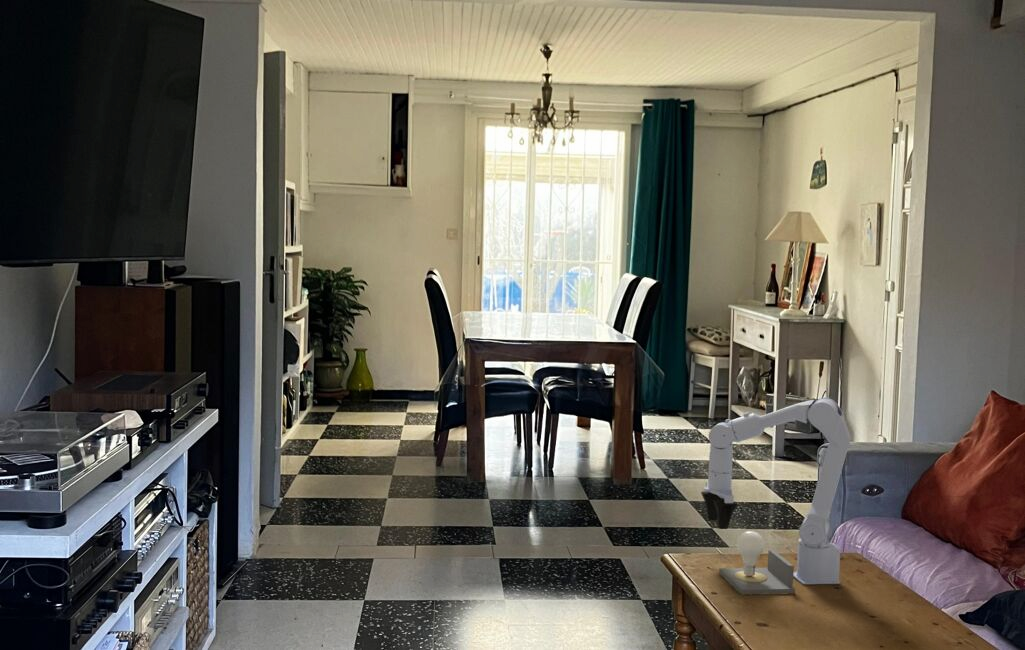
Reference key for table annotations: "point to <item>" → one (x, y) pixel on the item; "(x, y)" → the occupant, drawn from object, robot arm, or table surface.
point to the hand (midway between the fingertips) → (717, 524)
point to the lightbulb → (750, 550)
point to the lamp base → (763, 577)
